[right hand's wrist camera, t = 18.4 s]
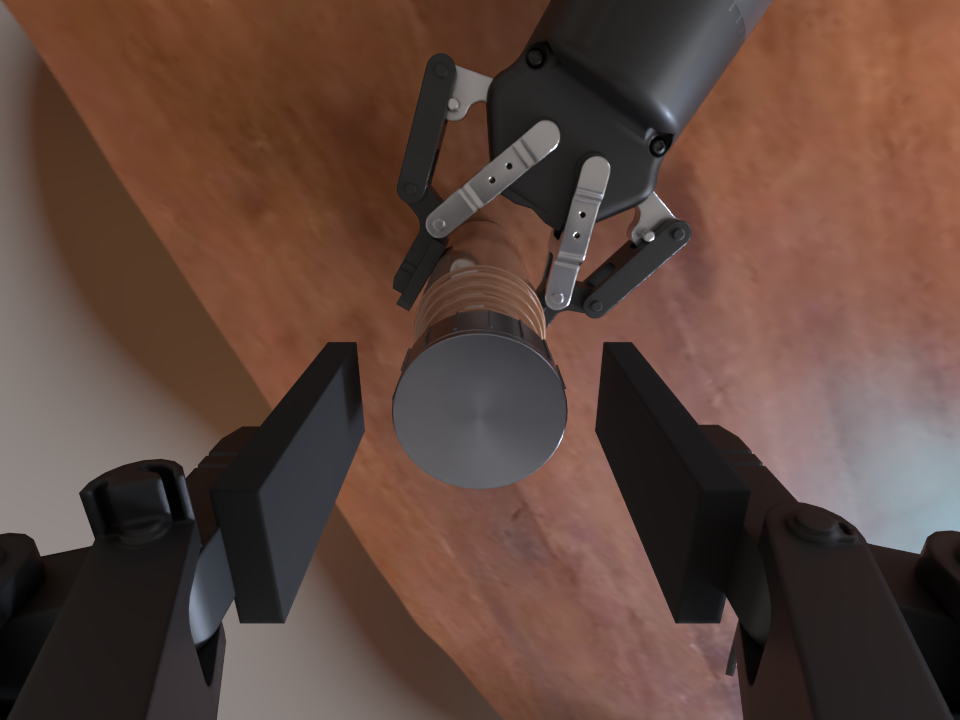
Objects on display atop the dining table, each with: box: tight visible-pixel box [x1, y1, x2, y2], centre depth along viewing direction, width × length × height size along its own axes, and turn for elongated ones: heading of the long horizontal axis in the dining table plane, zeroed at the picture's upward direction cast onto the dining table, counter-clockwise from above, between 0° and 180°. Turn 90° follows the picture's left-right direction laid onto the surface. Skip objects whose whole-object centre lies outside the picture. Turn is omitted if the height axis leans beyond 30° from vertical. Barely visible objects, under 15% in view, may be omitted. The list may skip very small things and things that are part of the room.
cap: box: [392, 310, 567, 489], centre depth 14 cm, size 4×4×2 cm
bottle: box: [414, 220, 546, 343], centre depth 22 cm, size 5×5×19 cm
